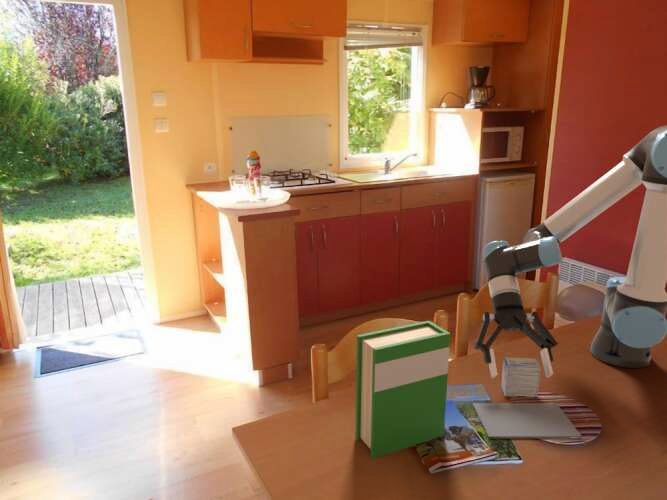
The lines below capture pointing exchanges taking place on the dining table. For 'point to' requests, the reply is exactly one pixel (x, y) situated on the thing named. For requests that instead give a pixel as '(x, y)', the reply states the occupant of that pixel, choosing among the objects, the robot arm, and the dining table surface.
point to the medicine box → (520, 377)
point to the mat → (525, 420)
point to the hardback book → (401, 386)
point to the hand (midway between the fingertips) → (522, 376)
